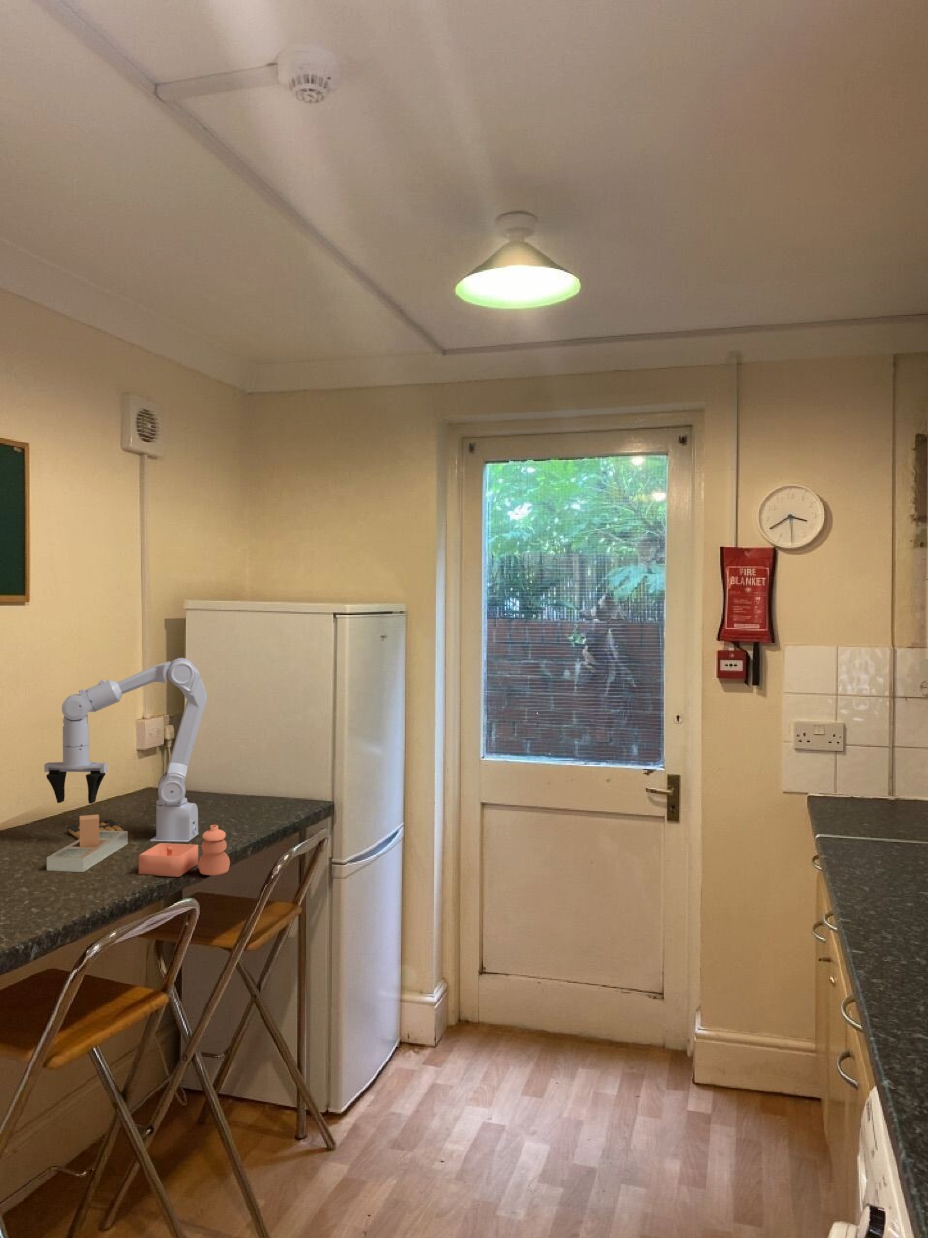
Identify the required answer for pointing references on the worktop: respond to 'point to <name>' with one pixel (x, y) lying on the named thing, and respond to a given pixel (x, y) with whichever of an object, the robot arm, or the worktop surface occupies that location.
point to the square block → (89, 831)
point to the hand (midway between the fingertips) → (76, 802)
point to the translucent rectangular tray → (86, 852)
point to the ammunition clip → (103, 826)
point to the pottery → (187, 856)
